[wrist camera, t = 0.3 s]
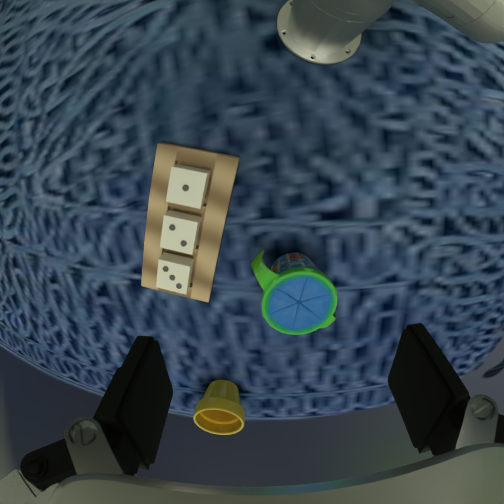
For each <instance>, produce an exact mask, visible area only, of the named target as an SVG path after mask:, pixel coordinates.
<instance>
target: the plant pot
mask: <svg viewBox="0 0 504 504" xmlns="http://www.w3.org/2000/svg"><path fill="white" fill-rule="evenodd" d="M193 419H194V422H195V423H196V425H197V426H198V427H200V428H201V429H203V430H205V431H207V432H210V433H214V434H221V435H228V434H234V433H237V432H238V431H240V430H241V429H242V428H243V426H244V420H245V412H244V409H243V408H242V406H241V403H240V397H239V391H238V388H237V386H236V385H235V384H234V383H232V382H230V381H228V380H215V381H213V382H211V383H210V384H209V386H208V388H207V390H206V392H205V394H204V396H203V398H202V400H200V401H199V402H198V403H197V405H196V408H195V412H194V417H193Z"/></svg>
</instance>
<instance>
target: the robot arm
mask: <svg viewBox="0 0 504 504" xmlns="http://www.w3.org/2000/svg"><path fill="white" fill-rule="evenodd" d="M413 1H414V2H416V3H418V4H419V5H421V6H423V7H424V8H426V9H428V10H429V11H431V12H432V13H434V14H435V15H437V16H438V17H440V18H441V19H443V20H444V21H446V22H447V23H448V24H450V25H452V26H453V27H454V28H456V29H457V30H459V31H460V32H462V33H463V34H465V35H466V36H468V37H470V38H471V39H473V40H476V41H479V42H482V43H497V42H500V41H503V40H504V0H413ZM393 2H394V0H289V1H287V2H286V3H285V4H284V5H283V7H282V8H281V9H280V11H279V14H278V17H277V31H278V35H279V37H280V39H281V41H282V43H283V44H284V46H285V47H286V48H287V49H288V50H289V51H290V52H291V53H293V54H294V55H295V56H297V57H299V58H301V59H302V60H304V61H307V62H310V63H314V64H319V65H331V64H337V63H339V62H342V61H344V60H346V59H348V58H349V57H351V56H352V55H353V54H354V53H355V51H356V50H357V49H358V47H359V45H360V41H361V33H362V32H363V31H364V30H366V29H367V28H368V27H369V26H370V25H371V24H373V23H374V22H375V21H376V20H377V19H379V18H380V17H381V16H382V15H383V14H385V13H386V12H387V11H388V10H389V9H390V7H391V6H392V4H393ZM291 5H292V6H291ZM282 33H285V34H286V35H283V34H282ZM346 52H348V54H347V53H346ZM310 57H313V58H314V59H311V58H310ZM388 384H389V387H390V389H391V392H392V394H393V397H394V399H395V401H396V404H397V406H398V408H399V411H400V413H401V416H402V418H403V421H404V423H405V426H406V429H407V431H408V434H409V436H410V439H411V442H412V444H413V446H414V447H415V448H418V451H419V453H423V452H426V451H429V450H431V451H432V454H433V455H432V458H429V459H426V460H423V461H419V462H416V463H413V464H409V465H406V466H402V467H399V468H395V469H391V470H387V471H383V472H378V473H374V474H369V475H365V476H360V477H354V478H349V479H343V480H337V481H330V482H322V483H313V484H303V485H291V486H274V487H273V486H272V487H228V486H209V485H198V484H188V483H179V482H170V481H163V480H156V479H150V478H143V477H137V476H136V473H137V471H138V468H141V469H146V470H148V469H149V465H150V463H151V464H153V463H154V461H155V458H156V454H157V450H158V447H159V443H160V439H161V436H162V432H163V428H164V425H165V421H166V417H167V414H168V410H169V407H170V403H171V399H172V396H173V388H172V385H171V382H170V379H169V375H168V372H167V369H166V366H165V363H164V359H163V356H162V353H161V349H160V346H159V343H158V341H157V340H154V338H153V337H151V336H137V338H136V339H135V341H134V343H133V345H132V347H131V349H130V351H129V353H128V355H127V357H126V359H125V361H124V363H123V364H122V366H121V367H120V368H118V369H117V371H116V372H115V374H114V376H113V378H112V380H111V382H110V384H109V386H108V388H107V390H106V392H105V394H104V396H103V398H102V401H101V403H100V405H99V407H98V409H97V411H96V413H95V415H94V418H93V419H91V418H89V417H82V418H78V419H76V420H74V421H72V422H71V423H70V424H69V425H68V427H67V428H66V431H65V438H64V439H62V440H60V441H57V442H55V443H53V444H50V445H48V446H45V447H42V448H40V449H37V450H35V451H32V452H30V453H28V454H27V455H26V456H25V457H24V458H23V459H22V461H21V466H20V468H21V470H19V471H17V470H14V471H13V472H11V473H10V474H9V475H8V476H6V477H5V478H3V479H2V480H1V481H0V504H504V416H503V415H500V414H499V409H498V406H497V404H496V402H495V401H494V400H493V399H492V398H490V397H488V396H486V395H475V396H473V397H472V398H470V396H469V392H468V391H467V389H466V388H465V386H464V384H463V383H462V381H461V379H460V378H459V376H458V375H457V373H456V372H455V370H454V369H453V367H452V366H451V364H450V363H449V361H448V360H447V358H446V357H445V355H444V354H443V352H442V351H441V349H440V348H439V346H438V345H437V344H436V342H435V341H434V339H433V338H432V336H431V335H430V334H429V332H428V331H427V329H426V328H425V327H424V325H423V324H422V323H417V324H411V325H408V326H407V327H406V329H404V330H403V331H402V335H401V338H400V342H399V345H398V348H397V352H396V355H395V358H394V361H393V364H392V367H391V370H390V373H389V376H388Z"/></svg>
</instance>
